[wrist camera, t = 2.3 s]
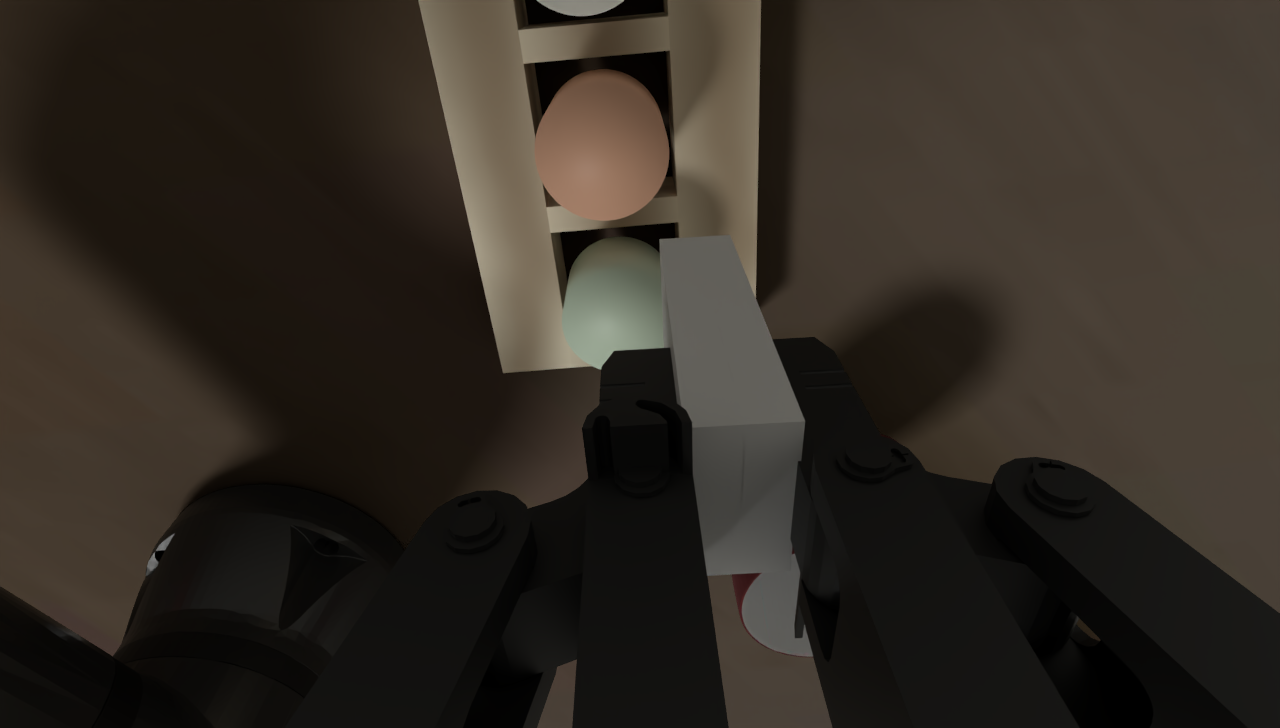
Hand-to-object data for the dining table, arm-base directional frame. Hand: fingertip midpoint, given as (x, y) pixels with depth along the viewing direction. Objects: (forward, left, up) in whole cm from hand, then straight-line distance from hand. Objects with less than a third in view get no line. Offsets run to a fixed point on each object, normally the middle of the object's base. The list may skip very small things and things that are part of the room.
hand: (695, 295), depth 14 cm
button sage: (-2, -6, -13) cm, 14 cm away
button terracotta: (-2, +1, -13) cm, 13 cm away
